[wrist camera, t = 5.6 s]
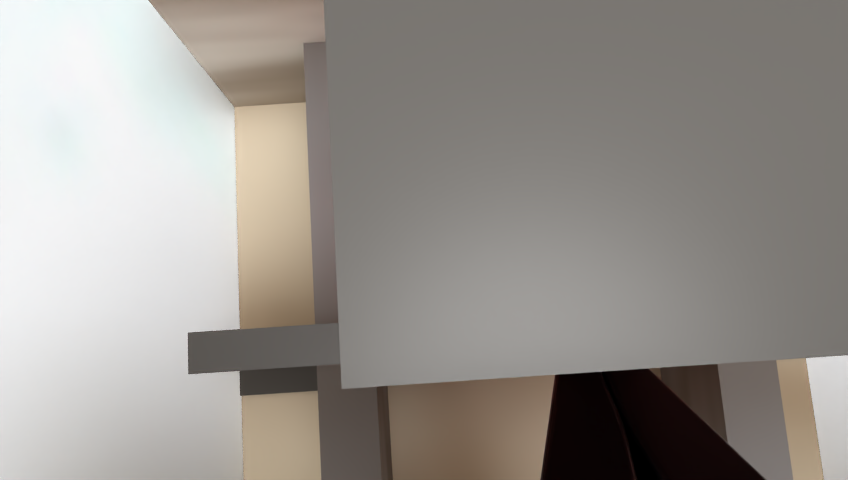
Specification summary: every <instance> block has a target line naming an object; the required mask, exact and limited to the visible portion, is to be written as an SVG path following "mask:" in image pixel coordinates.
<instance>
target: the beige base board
mask: <svg viewBox="0 0 848 480" xmlns="http://www.w3.org/2000/svg"><path fill="white" fill-rule="evenodd" d="M149 2H150V3H151V4H152V5H153V7H154V8H155V9H156V10H157V12H158V13H159V14H160V15H161V16H162V18H163V19H164V20H165V21H166V23H167V24H168V25H169V26H170V28H171V29H172V30H173V31H174V33H175V34H176V35H177V36H178V38H179V39H180V40H181V41H182V43H183V44H184V45H185V46H186V47H187V49H188V50H189V51H190V52H191V54H192V55H193V56H194V57H195V59H196V60H197V61H198V62H199V64H200V65H201V66H202V67H203V69H204V70H205V71H206V72H207V74H208V75H209V76H210V77H211V78H212V80H213V81H214V82H215V83H216V85H217V86H218V87H219V88H220V90H221V91H222V92H223V93H224V95H225V96H226V97H227V98H228V100H229V101H230V102H231V103H232V105H233V106H234V108H235V148H236V189H237V230H238V270H239V311H240V329H252V328H267V327H282V326H297V325H312V324H327V323H339V321H338V299H337V278H336V256H335V235H334V213H333V192H332V170H331V149H330V127H329V106H328V85H327V63H326V42H325V20H324V0H149ZM649 369H650V370H651V371H652V372H653V373H654V374H655V375H656V376H657V377H659V378H660V379H661V380H662V381H663V382H664V383H665V384H666V385H667V386H668V387H669V388H670V389H671V390H672V391H673V392H674V393H675V394H677V395H678V396H679V397H680V398H681V399H682V400H683V401H684V402H685V403H686V404H687V405H688V406H689V407H690V408H691V409H692V410H694V411H695V412H696V413H697V414H698V415H699V416H700V417H701V418H702V419H703V420H704V421H705V422H706V423H707V424H708V425H709V426H711V427H712V428H713V429H714V430H715V431H716V432H717V433H718V434H719V435H720V436H721V437H722V438H723V439H724V440H725V441H726V442H728V443H729V444H730V445H731V446H732V447H733V448H734V449H735V450H736V451H737V452H738V453H739V454H740V455H741V456H742V457H743V458H744V459H746V460H747V461H748V462H749V463H750V464H751V465H752V466H753V467H754V468H755V469H756V470H757V471H758V472H759V473H760V474H761V475H763V476H764V477H765V478H766V479H767V480H824V478H823V471H822V465H821V458H820V451H819V445H818V438H817V431H816V424H815V418H814V411H813V404H812V398H811V391H810V384H809V378H808V371H807V364H806V358H797V359H782V360H767V361H752V362H737V363H722V364H707V365H692V366H677V367H662V368H649ZM554 378H555V375H543V376H528V377H513V378H498V379H483V380H468V381H454V382H439V383H424V384H409V385H394V386H379V387H364V388H349V389H342V385H341V364H332V365H317V366H302V367H287V368H273V369H258V370H243V371H240V396H242V433H243V474H244V480H540V478H541V471H542V464H543V457H544V450H545V443H546V435H547V428H548V421H549V414H550V407H551V400H552V392H553V385H554Z"/></svg>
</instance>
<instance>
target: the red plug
mask: <svg viewBox="0 0 848 480" xmlns="http://www.w3.org/2000/svg"><path fill="white" fill-rule="evenodd" d="M324 20H325V42H326V63H327V85H328V106H329V127H330V149H331V170H332V192H333V213H334V235H335V256H336V278H337V299H338V321H339V323H327V324H312V325H297V326H282V327H267V328H252V329H237V330H222V331H207V332H192V333H188V374H198V373H213V372H228V371H243V370H258V369H273V368H287V367H302V366H317V365H332V364H341V385H342V389H349V388H364V387H379V386H394V385H409V384H424V383H439V382H454V381H468V380H483V379H498V378H513V377H528V376H543V375H558V374H573V373H588V372H603V371H618V370H632V369H647V368H662V367H677V366H692V365H707V364H722V363H737V362H752V361H767V360H782V359H797V358H811V357H826V356H841V355H848V0H324Z"/></svg>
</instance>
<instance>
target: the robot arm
mask: <svg viewBox="0 0 848 480" xmlns="http://www.w3.org/2000/svg"><path fill="white" fill-rule="evenodd" d="M540 480H767V479H766V478H765V477H764V476H763V475H761V474H760V473H759V472H758V471H757V470H756V469H755V468H754V467H753V466H752V465H751V464H750V463H749V462H748V461H747V460H746V459H744V458H743V457H742V456H741V455H740V454H739V453H738V452H737V451H736V450H735V449H734V448H733V447H732V446H731V445H730V444H729V443H728V442H726V441H725V440H724V439H723V438H722V437H721V436H720V435H719V434H718V433H717V432H716V431H715V430H714V429H713V428H712V427H711V426H709V425H708V424H707V423H706V422H705V421H704V420H703V419H702V418H701V417H700V416H699V415H698V414H697V413H696V412H695V411H694V410H692V409H691V408H690V407H689V406H688V405H687V404H686V403H685V402H684V401H683V400H682V399H681V398H680V397H679V396H678V395H677V394H675V393H674V392H673V391H672V390H671V389H670V388H669V387H668V386H667V385H666V384H665V383H664V382H663V381H662V380H661V379H660V378H659V377H657V376H656V375H655V374H654V373H653V372H652V371H651V370H650V369H649V368H647V369H632V370H618V371H603V372H588V373H573V374H558V375H555V378H554V385H553V392H552V400H551V407H550V414H549V421H548V428H547V435H546V443H545V450H544V457H543V464H542V471H541V478H540Z"/></svg>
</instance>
